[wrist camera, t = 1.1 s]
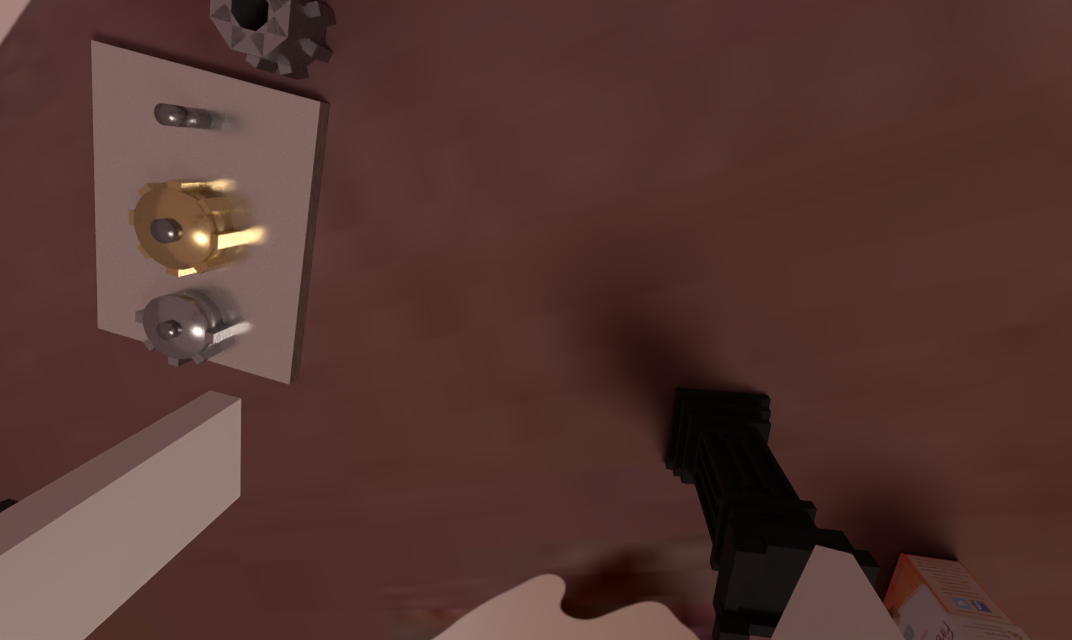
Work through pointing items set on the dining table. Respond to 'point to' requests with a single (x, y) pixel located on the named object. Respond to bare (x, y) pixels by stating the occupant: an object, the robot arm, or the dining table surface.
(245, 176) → the carrier
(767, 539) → the chess piece
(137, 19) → the dining table surface
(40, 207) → the dining table surface
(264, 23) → the gear
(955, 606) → the cracker box
